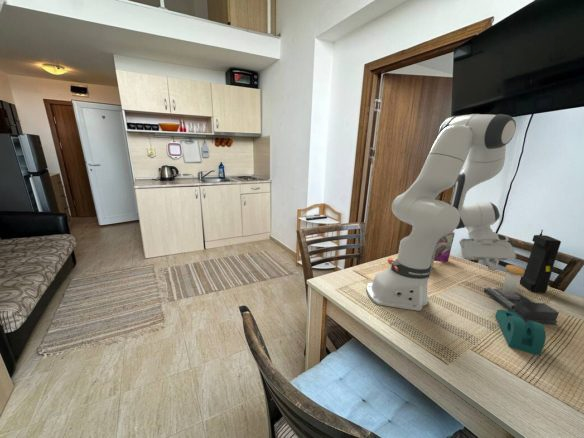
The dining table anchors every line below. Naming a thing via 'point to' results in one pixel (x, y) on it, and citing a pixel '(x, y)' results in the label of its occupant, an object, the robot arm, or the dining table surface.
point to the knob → (511, 282)
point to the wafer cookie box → (444, 248)
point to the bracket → (521, 332)
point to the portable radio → (540, 263)
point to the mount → (526, 308)
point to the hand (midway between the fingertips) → (493, 269)
